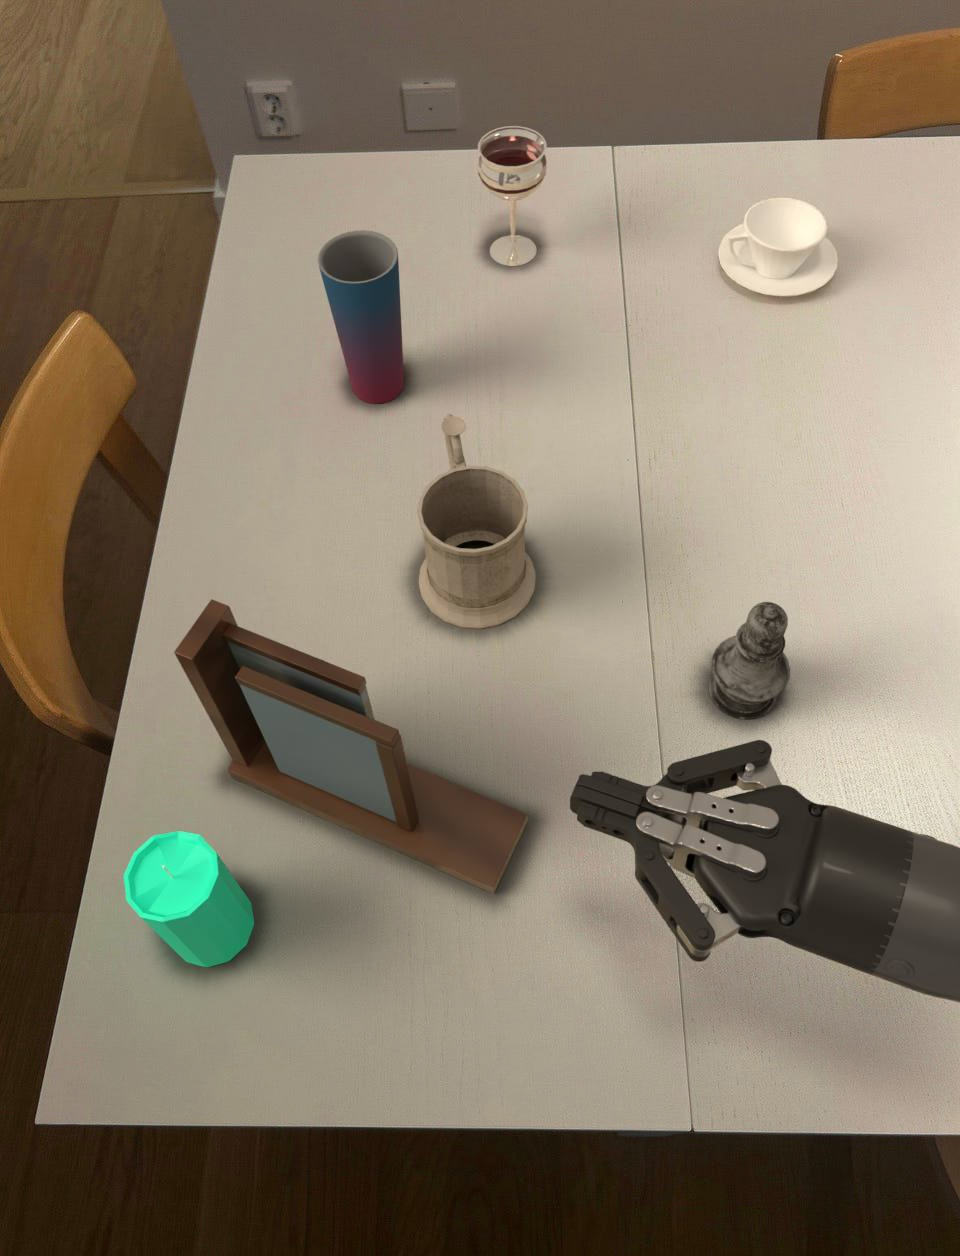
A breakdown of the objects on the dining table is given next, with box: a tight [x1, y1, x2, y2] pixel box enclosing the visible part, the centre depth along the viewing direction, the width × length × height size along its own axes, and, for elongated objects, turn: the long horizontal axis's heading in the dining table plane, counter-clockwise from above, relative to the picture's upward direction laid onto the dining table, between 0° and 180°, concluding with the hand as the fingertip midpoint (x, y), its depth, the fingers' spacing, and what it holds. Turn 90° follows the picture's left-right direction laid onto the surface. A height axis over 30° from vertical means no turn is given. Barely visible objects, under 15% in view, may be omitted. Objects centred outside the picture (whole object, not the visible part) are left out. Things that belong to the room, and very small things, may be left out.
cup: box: [317, 229, 405, 405], centre depth 96 cm, size 7×7×15 cm
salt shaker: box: [708, 601, 791, 720], centre depth 78 cm, size 6×6×12 cm
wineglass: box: [477, 125, 548, 267], centre depth 107 cm, size 7×7×12 cm
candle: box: [123, 830, 255, 968], centre depth 70 cm, size 6×6×12 cm
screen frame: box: [173, 598, 528, 895], centre depth 72 cm, size 6×22×18 cm, turn 65°
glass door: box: [235, 666, 419, 831], centre depth 72 cm, size 1×11×14 cm, turn 65°
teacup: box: [717, 197, 839, 298], centre depth 107 cm, size 12×12×5 cm
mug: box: [416, 413, 537, 630], centre depth 86 cm, size 14×10×12 cm
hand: (575, 792), depth 59 cm, fingers closed
